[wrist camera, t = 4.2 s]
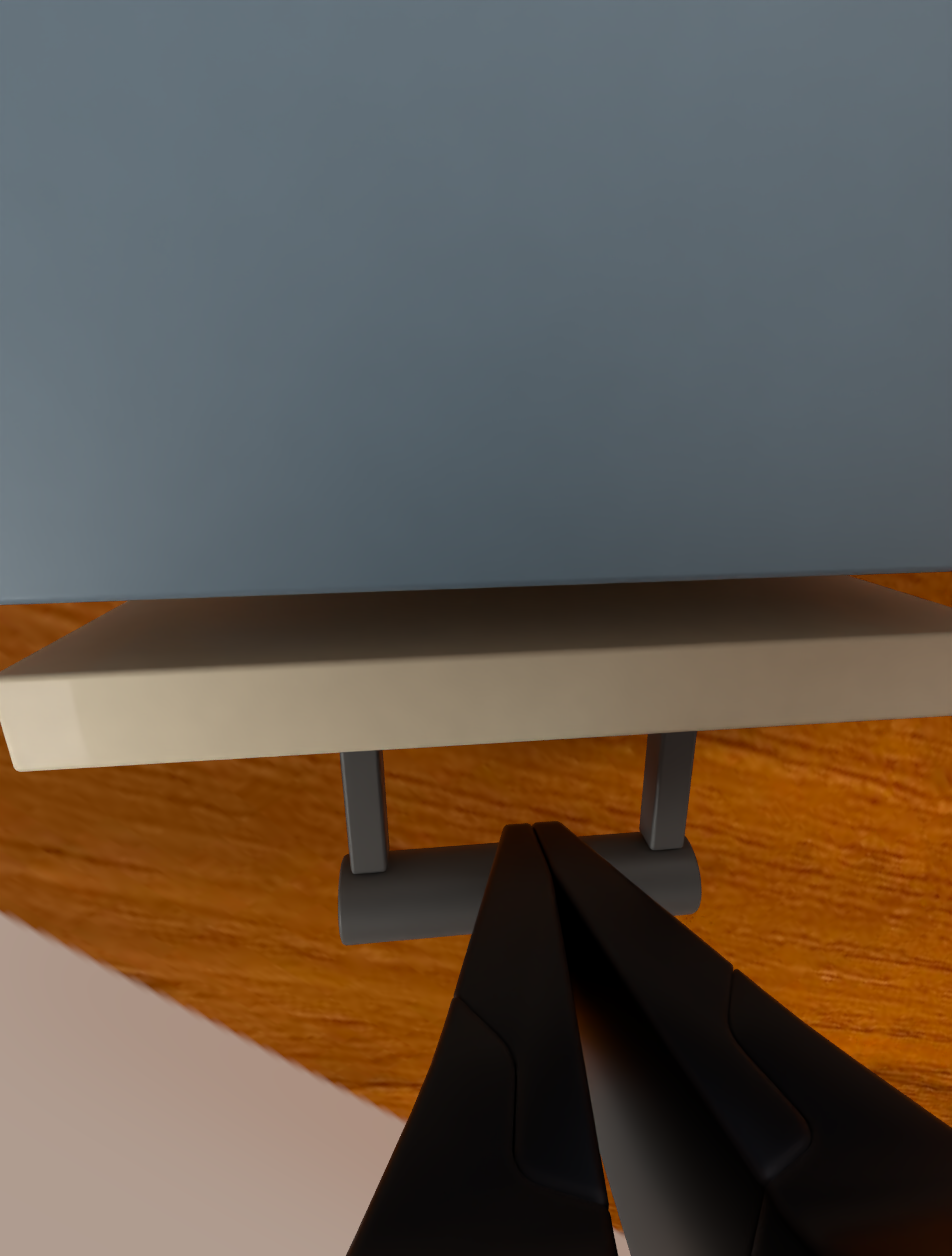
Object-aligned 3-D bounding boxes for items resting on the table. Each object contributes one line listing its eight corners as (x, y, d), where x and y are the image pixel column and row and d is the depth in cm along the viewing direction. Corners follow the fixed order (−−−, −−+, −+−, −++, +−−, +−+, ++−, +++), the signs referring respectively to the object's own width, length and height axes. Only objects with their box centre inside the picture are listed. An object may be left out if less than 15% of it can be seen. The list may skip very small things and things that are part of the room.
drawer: (768, 808, 13) (926, 973, 9) (204, 850, 12) (96, 1058, 8) (986, -474, 7) (1708, -1632, 3) (-74, -628, 6) (-1024, -2713, 2)
